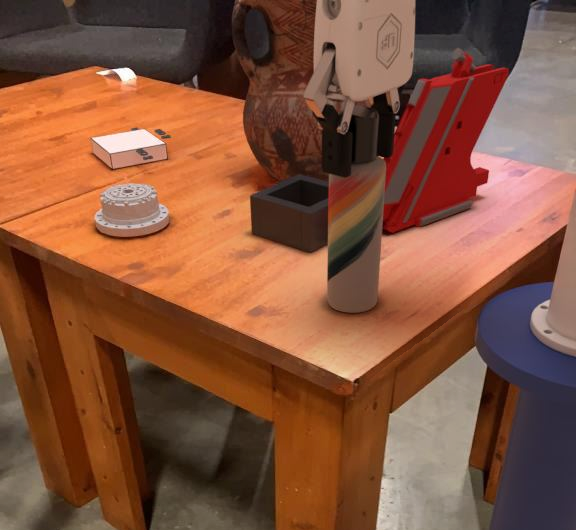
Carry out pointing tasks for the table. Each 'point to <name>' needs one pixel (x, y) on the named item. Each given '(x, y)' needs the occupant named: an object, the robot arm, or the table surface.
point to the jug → (282, 89)
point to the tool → (440, 145)
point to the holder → (293, 212)
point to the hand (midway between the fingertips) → (357, 162)
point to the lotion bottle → (357, 220)
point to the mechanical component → (130, 211)
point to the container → (130, 148)
